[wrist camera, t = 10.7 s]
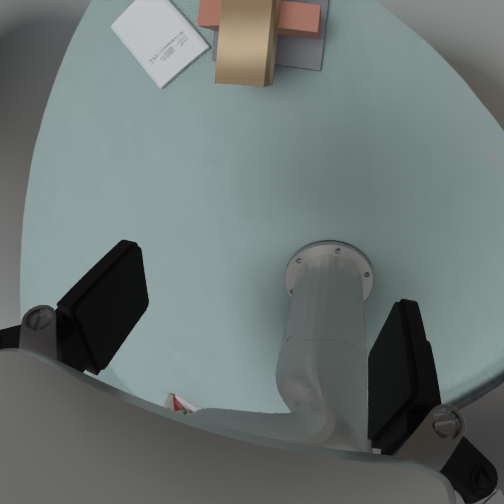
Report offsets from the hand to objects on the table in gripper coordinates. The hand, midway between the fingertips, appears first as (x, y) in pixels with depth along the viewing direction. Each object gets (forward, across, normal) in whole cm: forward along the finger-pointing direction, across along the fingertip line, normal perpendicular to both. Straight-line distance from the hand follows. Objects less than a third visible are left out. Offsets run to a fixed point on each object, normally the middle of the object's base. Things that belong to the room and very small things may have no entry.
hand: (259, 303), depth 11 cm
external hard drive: (+28, +20, -12) cm, 37 cm away
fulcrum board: (+27, +6, -14) cm, 31 cm away
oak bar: (+20, +6, -13) cm, 25 cm away
